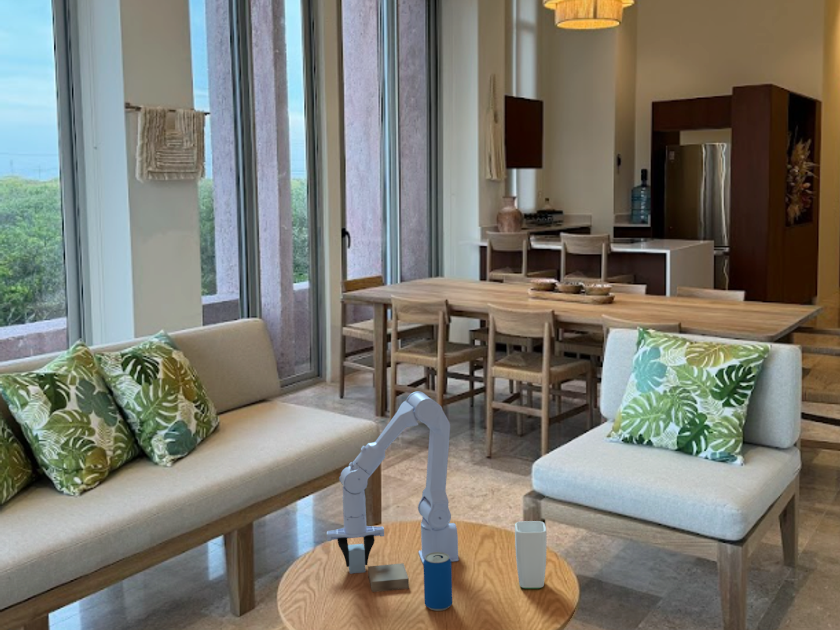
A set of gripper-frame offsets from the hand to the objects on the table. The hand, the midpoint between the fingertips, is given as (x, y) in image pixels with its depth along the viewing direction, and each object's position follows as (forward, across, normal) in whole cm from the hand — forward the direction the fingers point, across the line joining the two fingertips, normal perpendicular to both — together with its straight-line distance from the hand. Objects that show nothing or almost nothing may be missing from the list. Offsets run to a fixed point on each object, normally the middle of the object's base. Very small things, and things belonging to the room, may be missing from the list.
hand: (356, 564), depth 231 cm
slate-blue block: (+1, 0, 0) cm, 1 cm away
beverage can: (+2, -17, +24) cm, 29 cm away
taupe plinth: (+2, -7, +9) cm, 12 cm away
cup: (+2, -41, +18) cm, 45 cm away
